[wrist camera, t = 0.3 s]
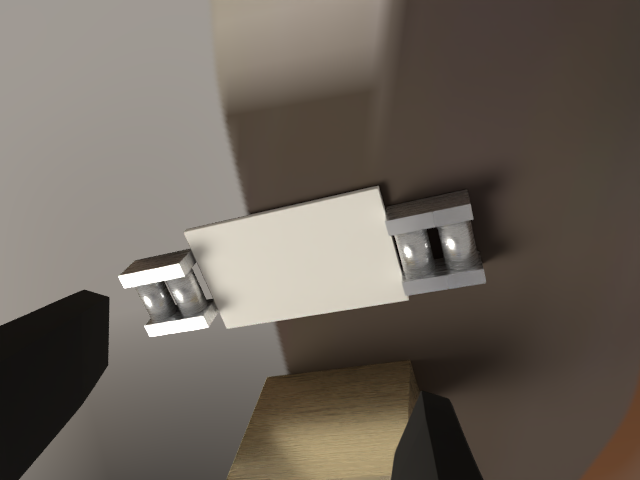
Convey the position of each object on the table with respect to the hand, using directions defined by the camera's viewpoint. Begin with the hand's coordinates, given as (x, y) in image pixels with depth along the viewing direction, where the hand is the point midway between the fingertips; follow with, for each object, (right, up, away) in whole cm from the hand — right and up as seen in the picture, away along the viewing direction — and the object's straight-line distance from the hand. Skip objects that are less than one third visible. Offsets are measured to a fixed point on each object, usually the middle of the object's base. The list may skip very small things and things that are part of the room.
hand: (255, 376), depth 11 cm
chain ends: (0, +2, +10) cm, 10 cm away
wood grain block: (+3, -4, +13) cm, 13 cm away
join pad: (0, +2, +10) cm, 10 cm away
